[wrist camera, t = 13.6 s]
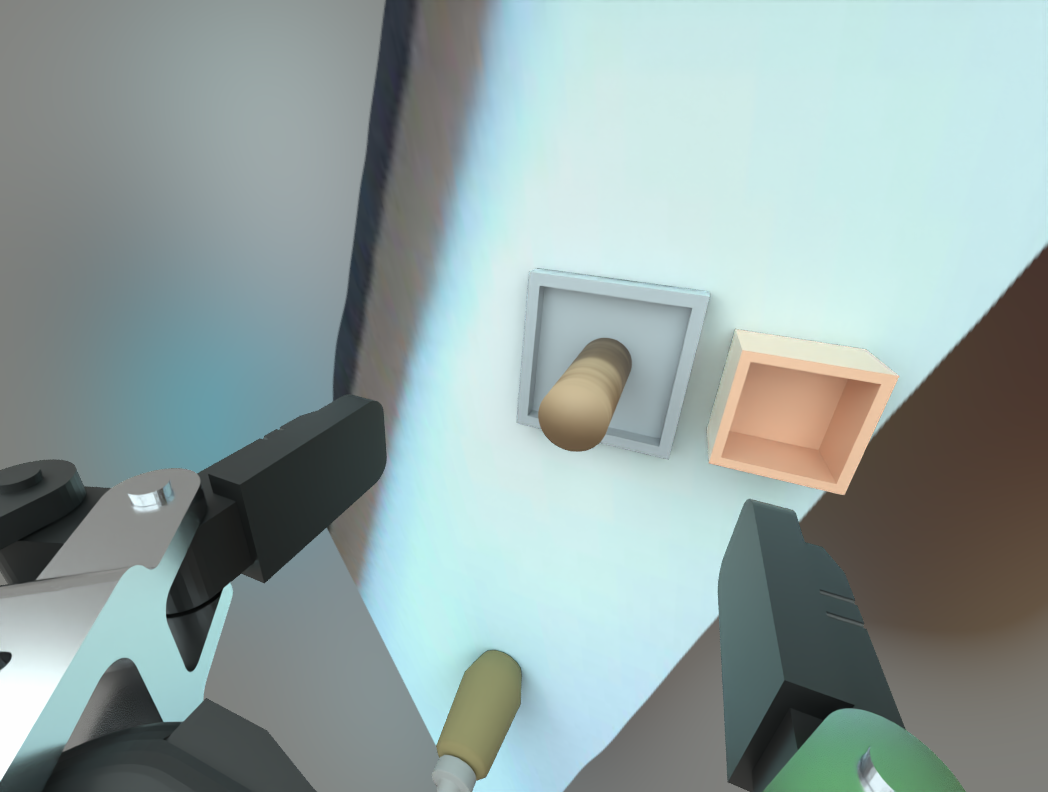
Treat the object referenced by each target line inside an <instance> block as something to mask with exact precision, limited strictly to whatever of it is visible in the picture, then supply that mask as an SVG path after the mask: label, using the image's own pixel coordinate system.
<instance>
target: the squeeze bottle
mask: <svg viewBox="0 0 1048 792" xmlns="http://www.w3.org/2000/svg"><path fill="white" fill-rule="evenodd" d="M521 677H522V675H521V669H520V667H519V665H518V664H517V662H516V661H515V660H514V659H513V658H511V657H510V656H508V655H507V654H505V653H503V652H500V651H496V650H490V651H486V652H485V653H483V654H482V655H481V656H480V657H479V658H478V659H477V660H476V661H475V662H474V663H473V664H472V665H471V666H470V667H469V668H468V669H467V670H466V671H465V673H464V675H463V678H462V680H461V683H460V685H459V688H458V691H457V693H456V696H455V698H454V701H453V704H452V706H451V709H450V712H449V714H448V717H447V719H446V722H445V725H444V727H443V730H442V732H441V735H440V738H439V740H438V743H437V745H436V747H437V752H438V755H439V760H438V762H437V764H436V766H435V769H434V771H433V773H432V778H433V782H434V783H435V785H436V786H437V790H436V792H472V791H473V788H474V785H475V783H476V781H477V780H480V779H483V778H486V776H487V774H488V772H489V770H490V768H491V766H492V764H493V762H494V760H495V758H496V755H497V753H498V751H499V749H500V747H501V745H502V743H503V740H504V738H505V736H506V734H507V732H508V730H509V728H510V725H511V723H512V721H513V719H514V717H515V715H516V713H517V711H518V708H519V706H520V704H521Z"/></svg>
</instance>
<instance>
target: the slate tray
mask: <svg viewBox="0 0 1048 792" xmlns="http://www.w3.org/2000/svg"><path fill="white" fill-rule="evenodd" d="M709 298H710V294H709V291H701V290H694V289H687V288H679V287H672V286H665V285H657V284H650V283H642V282H635V281H628V280H620V279H613V278H606V277H598V276H591V275H583V274H576V273H569V272H561V271H554V270H547V269H539V268H537V269H535V270H532V271H529V279H528V291H527V303H526V315H525V327H524V339H523V351H522V363H521V375H520V387H519V399H518V411H517V423H519V424H523V425H527V426H531V427H535V428H540V429H541V427H540V424H539V419H538V411H539V407H540V404H541V402H542V400H543V399H544V397H545V396H546V395H547V394H548V392H549V391H550V390H551V389H552V387H553V386H554V385H555V384H556V382H557V381H558V380H559V379H560V377H561V376H562V375H563V374H564V372H565V371H566V370H567V369H568V367H569V366H570V365H571V364H572V362H573V361H574V360H575V359H576V358H577V356H578V355H579V354H580V353H581V351H582V350H583V349H584V348H585V346H586V345H587V344H588V343H590V342H591V341H593V340H595V339H598V338H612V339H615V340H617V341H619V342H620V343H622V344H623V345H624V346H625V347H626V348H627V349H628V351H629V353H630V355H631V359H632V368H631V372H630V374H629V377H628V379H627V382H626V384H625V387H624V389H623V392H622V394H621V397H620V399H619V402H618V404H617V407H616V409H615V412H614V414H613V417H612V419H611V422H610V424H609V427H608V429H607V432H606V434H605V436H604V438H603V440H602V441H601V442H600V443H602V444H606V445H610V446H614V447H619V448H623V449H627V450H631V451H635V452H639V453H644V454H648V455H652V456H656V457H660V458H664V459H669V456H670V452H671V448H672V444H673V441H674V437H675V433H676V429H677V425H678V421H679V417H680V413H681V409H682V405H683V401H684V397H685V393H686V389H687V385H688V381H689V377H690V373H691V369H692V366H693V362H694V358H695V354H696V350H697V346H698V342H699V338H700V334H701V330H702V326H703V322H704V318H705V314H706V310H707V306H708V302H709Z"/></svg>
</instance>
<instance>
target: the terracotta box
mask: <svg viewBox="0 0 1048 792" xmlns="http://www.w3.org/2000/svg"><path fill="white" fill-rule="evenodd" d="M898 378H899V375H897V374H896V373H895V372H894V371H892V370H891V369H890V368H889V367H887V366H886V365H885V364H884V363H883V362H881V361H880V360H879V359H878V358H876V357H875V356H874V355H873V354H871V353H870V352H869V351H868V350H866V349H861V348H855V347H848V346H842V345H835V344H829V343H822V342H816V341H809V340H803V339H797V338H790V337H784V336H777V335H771V334H764V333H758V332H752V331H745V330H739V329H735V331H734V335H733V338H732V342H731V345H730V349H729V352H728V356H727V359H726V363H725V366H724V370H723V373H722V377H721V380H720V384H719V387H718V391H717V394H716V398H715V401H714V405H713V408H712V412H711V415H710V419H709V423H708V426H707V443H708V461H709V463H710V464H714V465H718V466H723V467H727V468H731V469H735V470H740V471H744V472H748V473H752V474H756V475H761V476H765V477H769V478H773V479H778V480H782V481H786V482H790V483H794V484H799V485H803V486H807V487H811V488H816V489H820V490H824V491H828V492H833V493H837V494H841V495H844V494H845V492H846V490H847V488H848V486H849V484H850V481H851V479H852V477H853V475H854V473H855V471H856V469H857V466H858V464H859V462H860V460H861V458H862V456H863V453H864V451H865V449H866V447H867V445H868V443H869V441H870V438H871V436H872V434H873V432H874V430H875V428H876V425H877V423H878V421H879V419H880V417H881V415H882V412H883V410H884V408H885V406H886V404H887V402H888V400H889V397H890V395H891V393H892V391H893V389H894V387H895V384H896V382H897V380H898Z"/></svg>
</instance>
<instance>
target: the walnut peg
mask: <svg viewBox="0 0 1048 792" xmlns="http://www.w3.org/2000/svg"><path fill="white" fill-rule="evenodd" d="M631 368H632V359H631V355H630V353H629V351H628V349H627V348H626V347H625V346H624V345H623V344H622V343H620V342H619V341H617V340H615V339H612V338H598V339H595V340H593V341H591V342H590V343H588V344H587V345H586V346H585V348H584V349H583V350H582V351H581V353H580V354H579V355H578V356H577V358H576V359H575V360H574V361H573V362H572V364H571V365H570V366H569V367H568V369H567V370H566V371H565V372H564V374H563V375H562V376H561V377H560V379H559V380H558V381H557V382H556V384H555V385H554V386H553V387H552V389H551V390H550V391H549V392H548V394H547V395H546V396H545V397H544V399H543V400H542V402H541V404H540V407H539V411H538V419H539V424H540V427H541V429H542V431H543V433H544V434H545V436H546V437H547V438H548V439H549V440H550V441H551V442H552V443H553V444H555V445H556V446H558V447H560V448H562V449H565V450H568V451H576V452H578V451H586V450H589V449H591V448H593V447H595V446H596V445H598V444H599V443H600V442H601V441H602V440H603V438H604V436H605V434H606V432H607V429H608V427H609V424H610V422H611V419H612V417H613V414H614V412H615V409H616V407H617V404H618V402H619V399H620V397H621V394H622V392H623V389H624V387H625V384H626V382H627V379H628V377H629V374H630V372H631Z"/></svg>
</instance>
